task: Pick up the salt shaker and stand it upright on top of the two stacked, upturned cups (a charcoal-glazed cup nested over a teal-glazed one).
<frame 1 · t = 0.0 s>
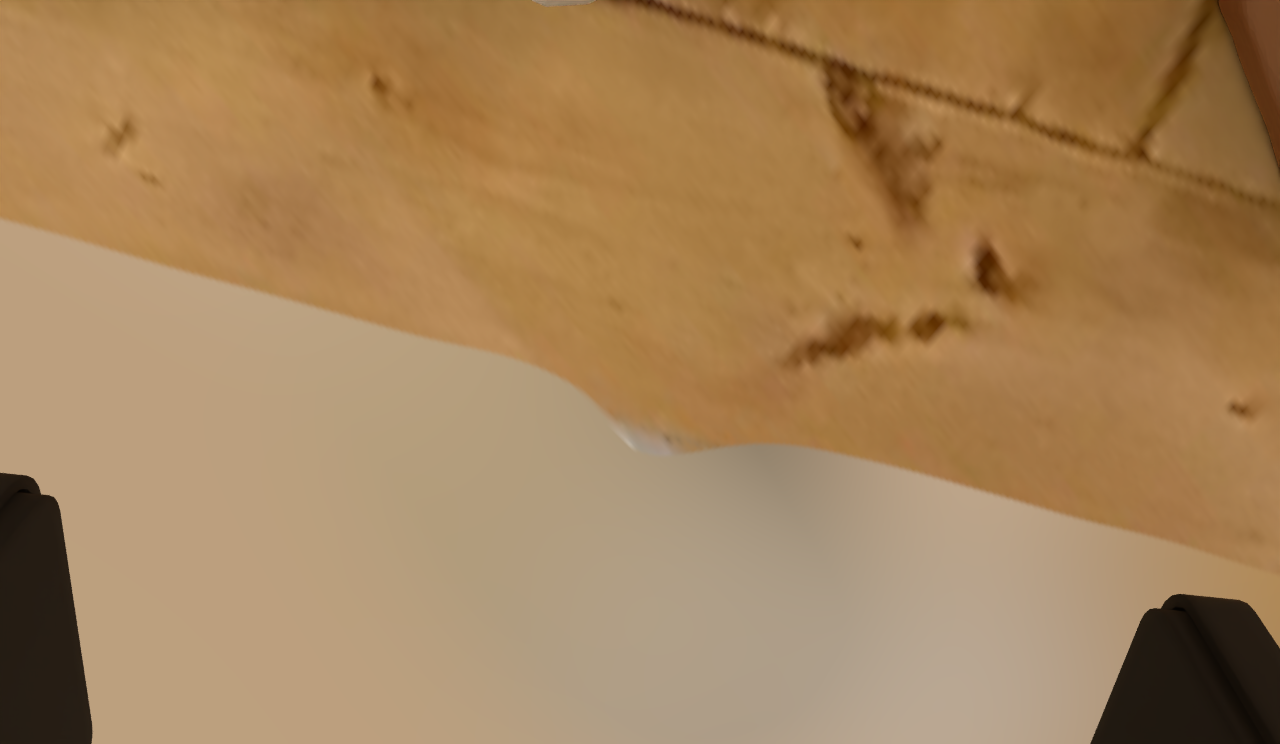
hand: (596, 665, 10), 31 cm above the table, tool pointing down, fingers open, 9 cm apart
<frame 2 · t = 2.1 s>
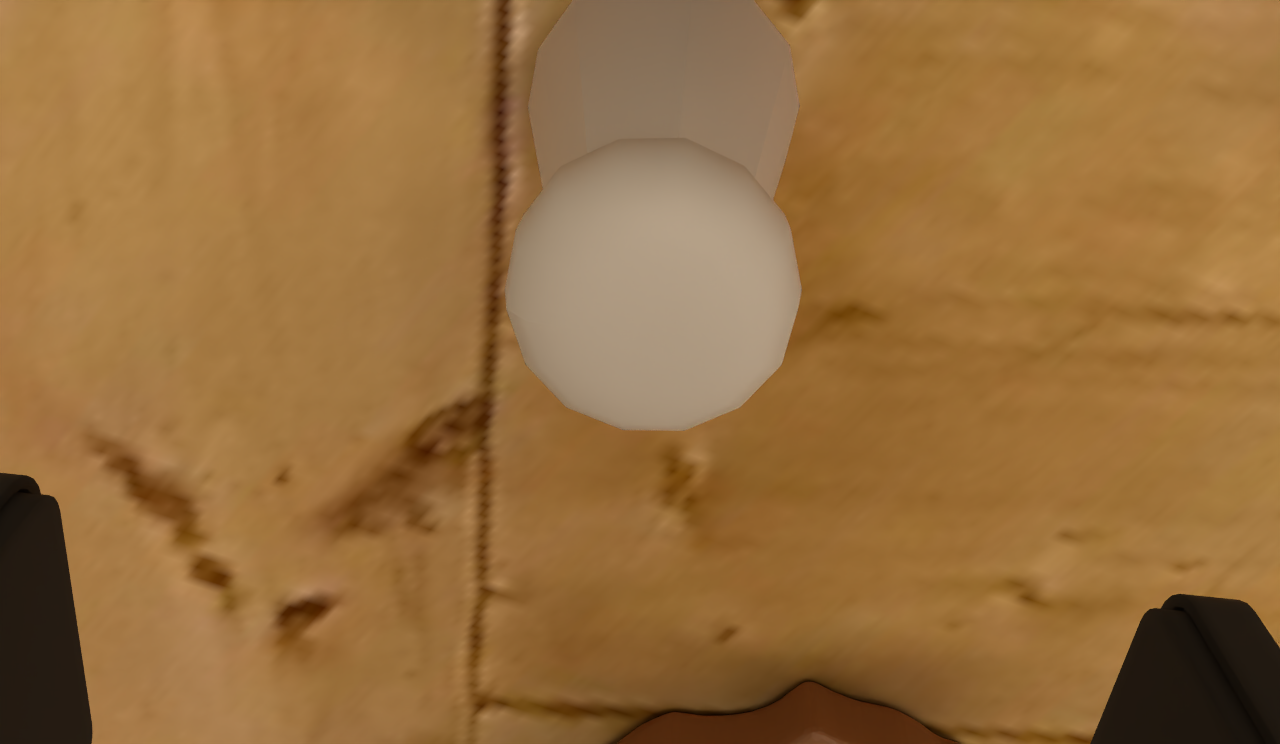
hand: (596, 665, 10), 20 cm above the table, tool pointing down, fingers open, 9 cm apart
salt shaker: (664, 75, 28), on the table
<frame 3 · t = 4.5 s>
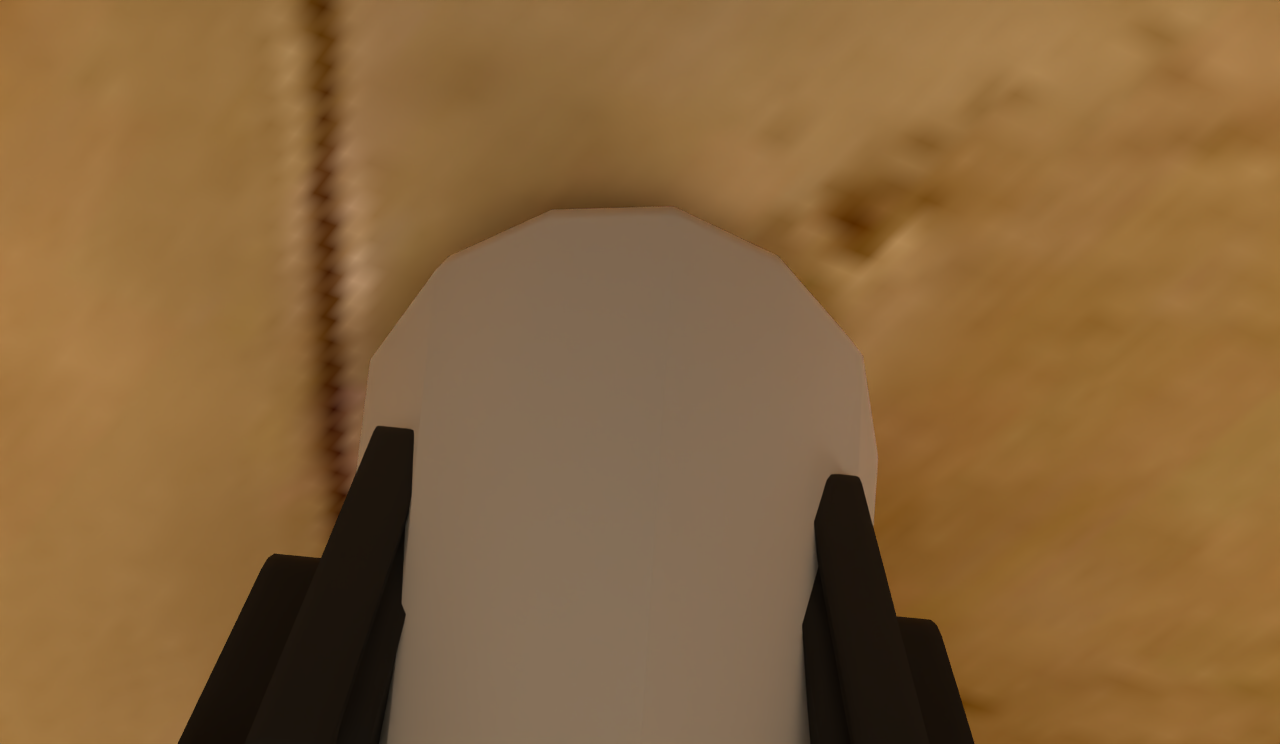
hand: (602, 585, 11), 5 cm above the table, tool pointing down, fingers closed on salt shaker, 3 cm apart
salt shaker: (624, 348, 16), on the table, touching gripper
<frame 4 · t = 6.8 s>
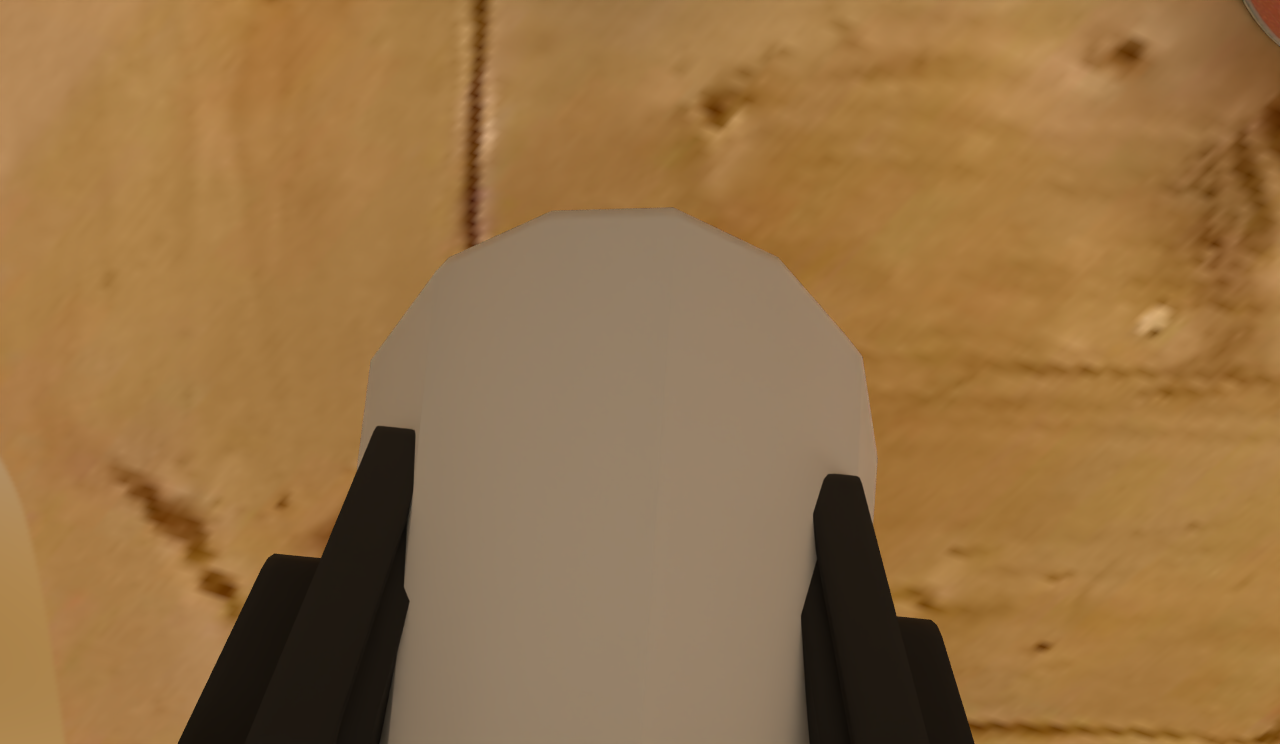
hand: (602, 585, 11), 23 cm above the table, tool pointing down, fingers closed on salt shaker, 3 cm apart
salt shaker: (624, 349, 16), point 18 cm above the table, touching gripper
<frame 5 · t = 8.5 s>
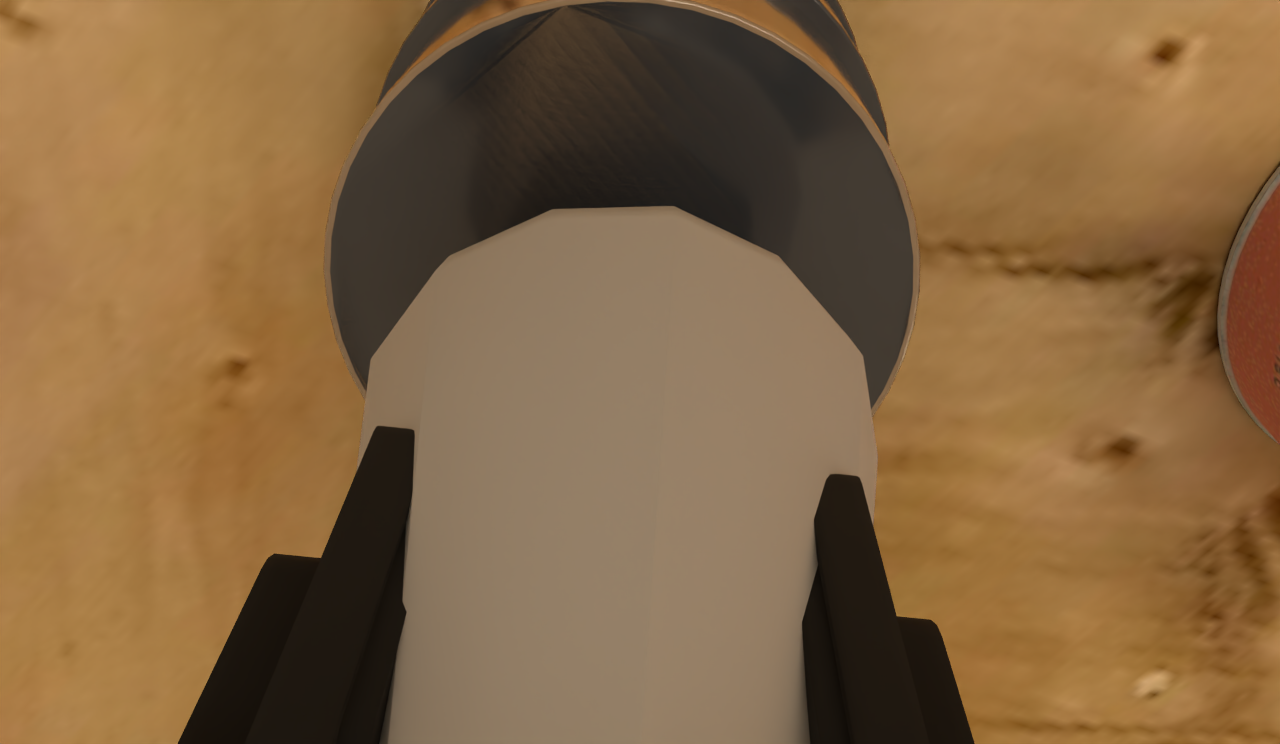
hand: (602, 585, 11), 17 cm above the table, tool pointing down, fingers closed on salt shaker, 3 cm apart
salt shaker: (624, 348, 16), point 12 cm above the table, touching gripper
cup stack: (636, 101, 26), on the table
when the fingers open (15 cm above the table, at t = 9.3 s): salt shaker stays where it is, resting on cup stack.
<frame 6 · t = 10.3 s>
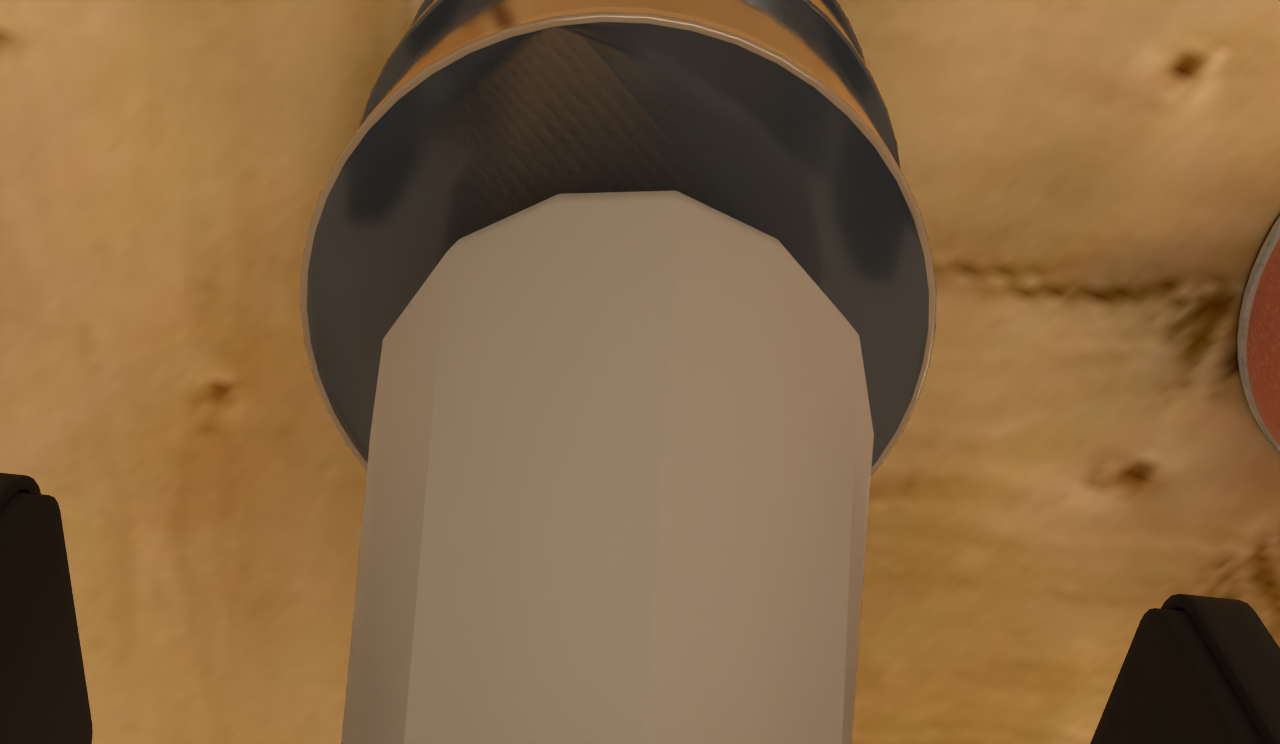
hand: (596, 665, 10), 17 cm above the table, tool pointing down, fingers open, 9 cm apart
salt shaker: (627, 332, 16), point 10 cm above the table, touching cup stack
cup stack: (633, 116, 25), on the table
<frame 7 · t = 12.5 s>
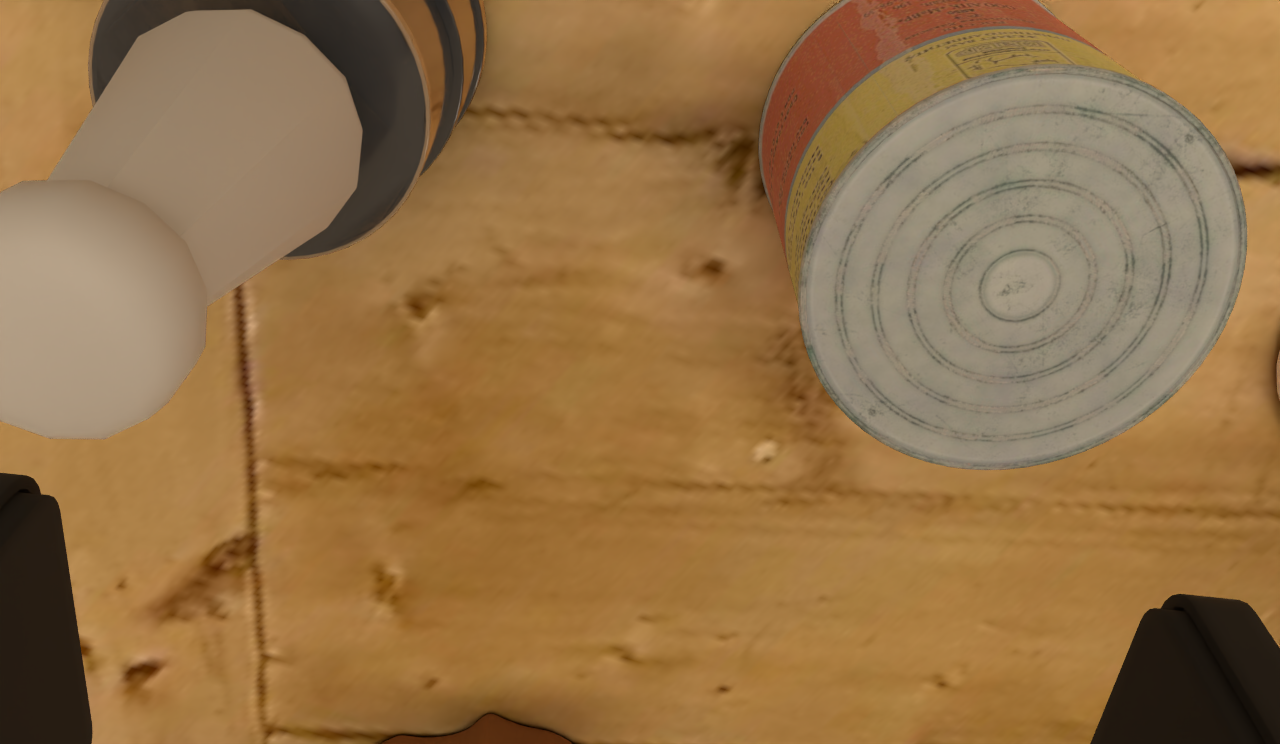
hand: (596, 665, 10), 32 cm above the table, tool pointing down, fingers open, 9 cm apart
salt shaker: (268, 103, 30), point 10 cm above the table, touching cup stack
canned food: (921, 137, 41), on the table
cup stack: (348, 15, 39), on the table
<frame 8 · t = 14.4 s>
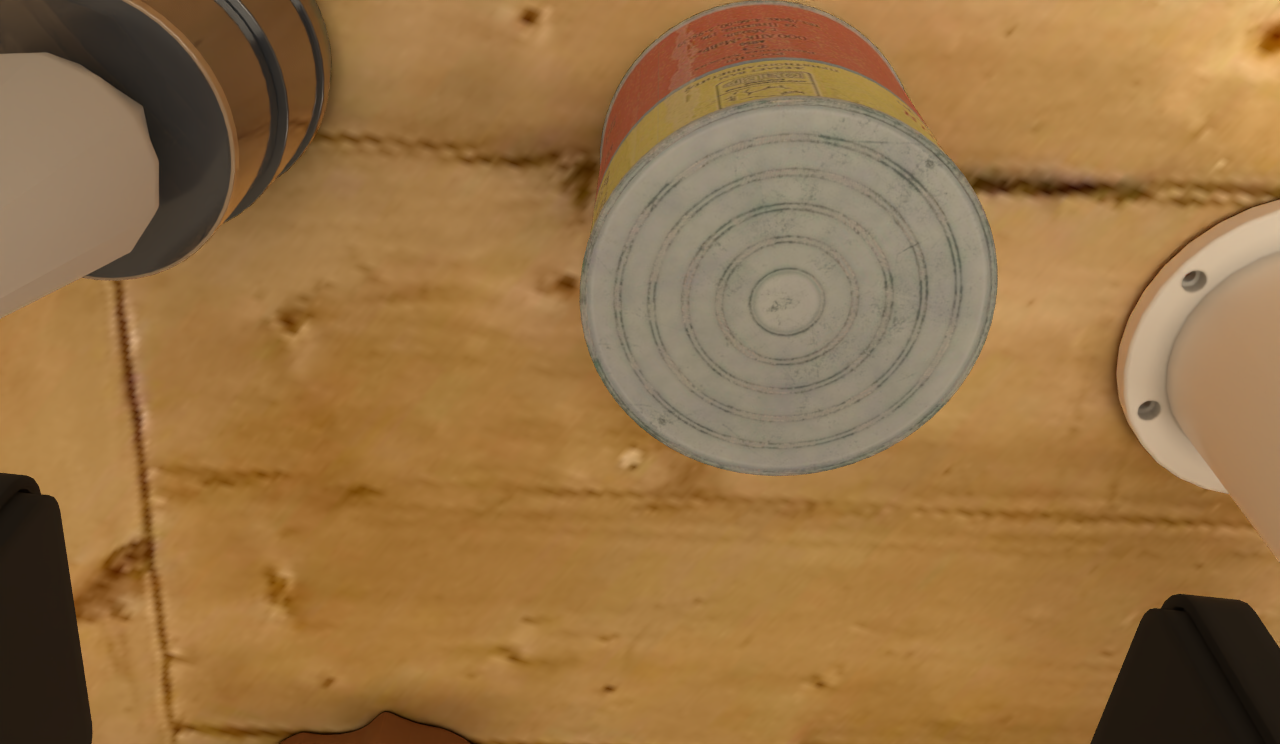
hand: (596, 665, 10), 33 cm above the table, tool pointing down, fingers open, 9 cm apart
salt shaker: (85, 136, 32), point 10 cm above the table, touching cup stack
canned food: (756, 158, 43), on the table
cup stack: (205, 48, 41), on the table
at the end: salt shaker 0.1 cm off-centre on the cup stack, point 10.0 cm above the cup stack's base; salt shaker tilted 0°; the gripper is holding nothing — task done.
